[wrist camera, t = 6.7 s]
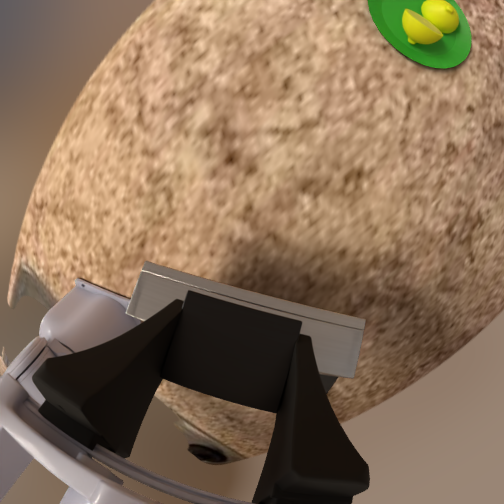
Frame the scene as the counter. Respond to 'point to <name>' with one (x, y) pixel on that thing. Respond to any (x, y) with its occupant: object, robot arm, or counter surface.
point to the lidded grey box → (241, 337)
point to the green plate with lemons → (424, 30)
